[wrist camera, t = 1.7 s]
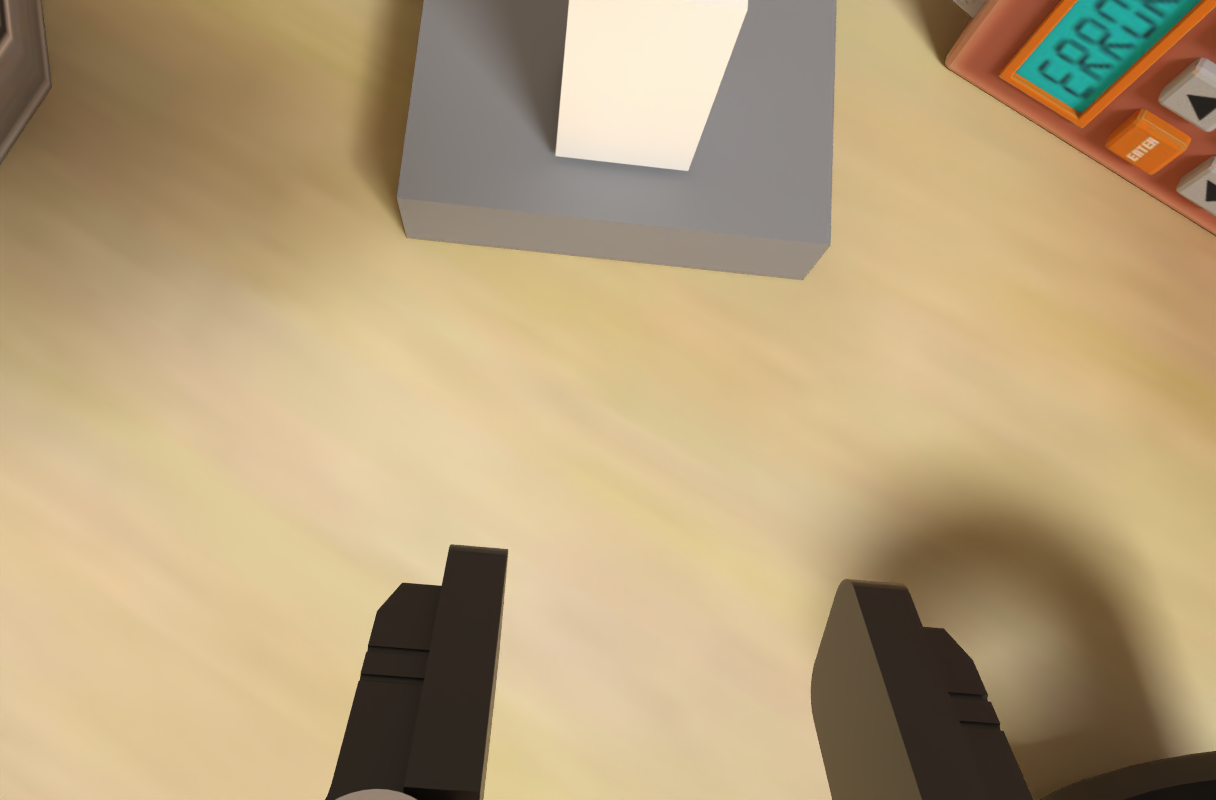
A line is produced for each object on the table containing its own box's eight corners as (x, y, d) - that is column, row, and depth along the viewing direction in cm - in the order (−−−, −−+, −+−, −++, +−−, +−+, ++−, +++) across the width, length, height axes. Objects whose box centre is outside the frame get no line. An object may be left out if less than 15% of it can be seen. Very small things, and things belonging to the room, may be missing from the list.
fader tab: (696, 67, 32) (757, -127, 24) (689, 171, 31) (751, 5, 23) (563, 51, 31) (581, -151, 23) (553, 155, 30) (568, -17, 23)
